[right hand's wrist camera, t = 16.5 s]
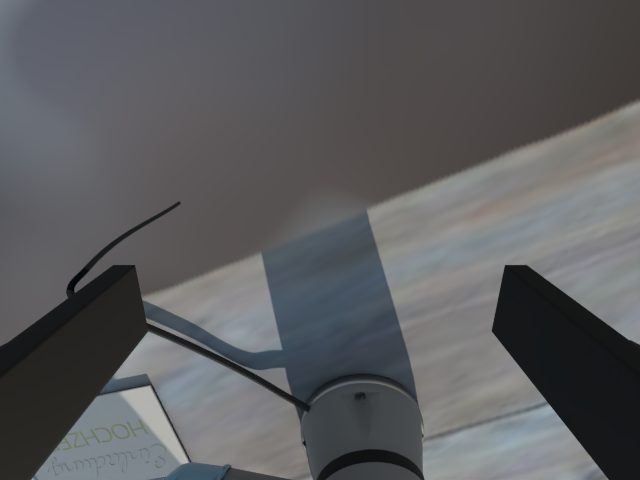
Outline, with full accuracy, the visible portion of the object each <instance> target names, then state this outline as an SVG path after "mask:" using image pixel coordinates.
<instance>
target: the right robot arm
mask: <svg viewBox="0 0 640 480" xmlns="http://www.w3.org/2000/svg"><path fill="white" fill-rule="evenodd" d="M180 204H181V202H179V201H178V202H177V203H175V204H174V205H172V206H171V207H169V208H167V209H166V210H164V211H162V212H160V213H159V214H157V215H155V216H153V217H151V218H150V219H148V220H146V221H144V222H142V223H141V224H139V225H137V226H135V227H134V228H132V229H130V230H129V231H127V232H126V233H124V234H122V235H121V236H119V237H118V238H117V239H115V240H114V241H112V242H111V243H110V244H108V245H107V246H106V247H105V248H103V249H102V250H101V251H100V252H99V253H98V254H97V255H95V256H94V257H93V258H92V259H91V260H90V261H89V262H88V264H87V265H86V266H85V267H84V268H83V269H82V270H81V271H80V272H79V273H78V274H76V276H74V277H73V278H72V280H71V281H70V282H69V284H68V286H67V289H66V293H67V296H68V299H67V300H65V301H64V302H63V303H61V304H60V305H59V306H57V307H56V308H54V309H53V310H52V311H50V312H49V313H48V314H46V315H45V316H44V317H42V318H41V319H40V320H38V321H37V322H35V323H34V324H33V325H31V326H30V327H29V328H27V329H26V330H25V331H23V332H22V333H20V334H19V335H18V336H16V337H15V338H14V339H12V340H11V341H10V342H8V343H6V344H4V345H2V346H0V480H31V479H32V478H33V477H34V475H35V474H36V473H37V472H38V470H39V469H40V468H41V466H42V465H43V464H44V463H45V461H46V460H47V459H48V458H49V456H50V455H51V454H52V453H53V451H54V450H55V449H56V447H57V446H58V445H59V444H60V442H61V441H62V440H63V439H64V437H65V436H66V435H67V433H68V432H69V431H70V430H71V428H72V427H73V426H74V425H75V423H76V422H77V421H78V420H79V418H80V417H81V416H82V414H83V413H84V412H85V411H86V409H87V408H88V407H89V406H90V404H91V403H92V402H93V401H94V399H95V398H96V397H97V395H98V394H99V393H100V392H101V390H102V389H103V388H104V387H105V385H106V384H107V383H108V382H109V380H110V379H111V378H112V376H113V375H114V374H115V373H116V371H117V370H118V369H119V368H120V366H121V365H122V364H123V363H124V361H125V360H126V359H127V357H128V356H129V355H130V354H131V352H132V351H133V350H134V349H135V347H136V346H137V345H138V343H139V342H140V341H141V340H142V338H143V337H144V336H145V335H146V333H147V332H148V331H149V332H151V333H154V334H156V335H158V336H161V337H163V338H165V339H167V340H170V341H172V342H174V343H177V344H179V345H181V346H183V347H185V348H188V349H190V350H192V351H194V352H196V353H198V354H201V355H203V356H205V357H207V358H209V359H211V360H213V361H215V362H217V363H220V364H222V365H224V366H226V367H228V368H230V369H232V370H234V371H235V372H237V373H239V374H241V375H243V376H245V377H247V378H249V379H251V380H252V381H254V382H256V383H258V384H260V385H261V386H263V387H265V388H266V389H268V390H270V391H271V392H273V393H275V394H276V395H278V396H280V397H281V398H283V399H285V400H287V401H288V402H290V403H292V404H294V405H295V406H297V407H299V408H301V409H303V413H302V418H301V439H302V445H303V448H304V451H305V453H306V455H307V457H308V463H309V467H310V471H311V474H312V477H313V480H424V476H423V441H424V425H423V419H422V416H421V413H420V410H419V407H418V404H417V402H416V400H415V399H414V397H413V396H412V394H411V393H410V392H409V391H408V390H407V389H406V388H404V387H403V386H402V385H400V384H398V383H397V382H395V381H393V380H390V379H388V378H384V377H381V376H376V375H365V374H362V375H351V376H345V377H342V378H339V379H336V380H333V381H331V382H329V383H327V384H326V385H324V386H322V387H321V388H320V389H318V390H317V391H316V392H315V393H314V394H313V395H312V396H311V397H310V399H309V400H308V401H307V403H306V404H305V403H304V402H302V401H300V400H298V399H297V398H295V397H293V396H291V395H290V394H288V393H286V392H284V391H283V390H281V389H279V388H278V387H276V386H274V385H273V384H271V383H269V382H268V381H266V380H264V379H263V378H261V377H259V376H257V375H255V374H254V373H252V372H250V371H248V370H246V369H244V368H242V367H240V366H238V365H237V364H235V363H233V362H231V361H229V360H227V359H225V358H223V357H221V356H219V355H217V354H214V353H212V352H210V351H208V350H206V349H204V348H202V347H200V346H198V345H195V344H193V343H191V342H189V341H187V340H185V339H182V338H180V337H178V336H176V335H173V334H171V333H169V332H167V331H164V330H162V329H160V328H157V327H155V326H153V325H150V324H148V323H147V322H146V318H145V313H144V308H143V303H142V298H141V293H140V288H139V283H138V278H137V273H136V268H135V265H113V266H112V267H110V268H109V269H108V270H106V271H105V272H103V273H102V274H101V275H99V276H98V277H97V278H95V279H94V280H93V281H91V282H90V283H89V284H87V285H86V286H84V287H83V288H82V289H80V290H79V291H78V292H76V293H75V292H74V289H75V286H76V284H77V283H78V282H79V281H80V280H81V279H82V278H83V277H84V276H85V275H86V274H87V273H88V272H89V271H90V270H91V269H92V267H93V266H94V265H95V264H96V263H97V262H98V261H99V260H100V259H101V258H102V257H103V256H104V255H105V254H106V253H107V252H109V251H110V250H111V249H112V248H113V247H115V246H116V245H117V244H118V243H120V242H121V241H123V240H124V239H125V238H127V237H128V236H130V235H131V234H133V233H134V232H136V231H138V230H139V229H141V228H142V227H144V226H146V225H148V224H149V223H151V222H153V221H154V220H156V219H158V218H160V217H161V216H163V215H165V214H166V213H168V212H170V211H171V210H173V209H174V208H176V207H177V206H179V205H180ZM492 332H493V333H494V335H495V336H496V337H497V338H498V340H499V341H500V342H501V344H502V345H503V346H504V347H505V349H506V350H507V351H508V352H509V354H510V355H511V356H512V357H513V359H514V360H515V361H516V363H517V364H518V365H519V366H520V368H521V369H522V370H523V371H524V373H525V374H526V375H527V376H528V378H529V379H530V380H531V382H532V383H533V384H534V385H535V387H536V388H537V389H538V390H539V392H540V393H541V394H542V395H543V397H544V398H545V399H546V401H547V402H548V403H549V404H550V406H551V407H552V408H553V409H554V411H555V412H556V413H557V414H558V416H559V417H560V418H561V420H562V421H563V422H564V423H565V425H566V426H567V427H568V428H569V430H570V431H571V432H572V434H573V435H574V436H575V437H576V439H577V440H578V441H579V442H580V444H581V445H582V446H583V447H584V449H585V450H586V451H587V453H588V454H589V455H590V456H591V458H592V459H593V460H594V461H595V463H596V464H597V465H598V466H599V468H600V469H601V470H602V472H603V473H604V474H605V475H606V477H607V478H608V479H609V480H640V345H639V344H637V343H635V342H633V341H631V340H628V339H626V338H625V337H624V336H622V335H621V334H620V333H618V332H617V331H616V330H614V329H613V328H611V327H610V326H609V325H607V324H606V323H605V322H603V321H602V320H601V319H599V318H598V317H596V316H595V315H594V314H592V313H591V312H590V311H588V310H587V309H586V308H584V307H583V306H581V305H580V304H579V303H577V302H576V301H575V300H573V299H572V298H571V297H569V296H568V295H567V294H565V293H564V292H562V291H561V290H560V289H558V288H557V287H556V286H554V285H553V284H552V283H550V282H549V281H547V280H546V279H545V278H543V277H542V276H541V275H539V274H538V273H537V272H535V271H534V270H532V269H531V268H530V267H528V266H527V265H505V268H504V273H503V278H502V283H501V288H500V293H499V298H498V303H497V308H496V313H495V318H494V322H493V327H492ZM165 480H290V479H285V478H280V477H275V476H270V475H265V474H260V473H254V472H249V471H244V470H239V469H234V468H231V465H228V464H226V465H225V466H217V465H209V464H202V463H194V462H191V463H185V464H182V465H180V466H179V467H177V468H175V469H174V470H173V471H172V472H171V473H170V474H169V475H168V476H167V477H166V479H165Z"/></svg>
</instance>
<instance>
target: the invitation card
mask: <svg viewBox="0 0 640 480" xmlns="http://www.w3.org/2000/svg"><path fill="white" fill-rule="evenodd" d="M185 463H190V461H189V459H188V457H187V455H186V453H185V451H184V450H183V448H182V446H181V444H180V442H179V440H178V438H177V436H176V434H175V432H174V430H173V428H172V426H171V424H170V422H169V420H168V418H167V416H166V414H165V412H164V410H163V408H162V406H161V404H160V402H159V400H158V398H157V396H156V394H155V392H154V391H153V389H152V387H151V385H148V386H143V387H138V388H133V389H128V390H123V391H118V392H113V393H108V394H103V395H98V396H97V397H96V398H95V399H94V401H93V402H92V403H91V404H90V406H89V407H88V408H87V409H86V411H85V412H84V413H83V414H82V416H81V417H80V418H79V420H78V421H77V422H76V423H75V425H74V426H73V427H72V428H71V430H70V431H69V432H68V433H67V435H66V436H65V437H64V439H63V440H62V441H61V442H60V444H59V445H58V446H57V447H56V449H55V450H54V451H53V453H52V454H51V455H50V456H49V458H48V459H47V460H46V461H45V463H44V464H43V465H42V466H41V468H40V469H39V470H38V472H37V473H36V474H35V476H36V478H37V479H38V480H150V479H155V478H161V477H166V476H168V475H169V474H170V473H171V472H172V471H173V470H174V469H175V468H177V467H179V466H180V465H182V464H185Z"/></svg>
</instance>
